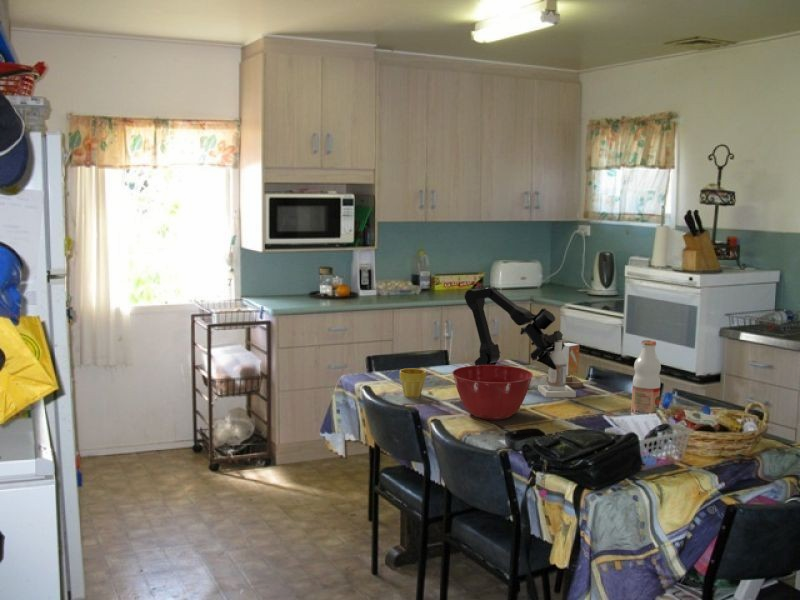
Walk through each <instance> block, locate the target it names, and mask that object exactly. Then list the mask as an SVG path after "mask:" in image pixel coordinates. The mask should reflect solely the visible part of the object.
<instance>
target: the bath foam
mask: <svg viewBox="0 0 800 600" xmlns="http://www.w3.org/2000/svg"><path fill="white" fill-rule="evenodd" d="M550 357H551V359H552V361H553V362H554V364H555V366H556V368H557V369H556V370H554V369H552V368H550V367H548V366H547V367H548V368H547V371H548V372H547V377H548V382H547V385H548V391H565V384H566V376H567V375H566V358H565V355H564V354H563V352H562V340H559V341H556V342H555V347H554V352H553V353H552V354H551V355H550Z"/></svg>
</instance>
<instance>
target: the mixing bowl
mask: <svg viewBox="0 0 800 600" xmlns="http://www.w3.org/2000/svg"><path fill="white" fill-rule="evenodd" d="M452 375H453V378H454V383H455V387H456V390H457V393H458V396H459V398H460V401H461V402H462V405H463V406H464V408H465V410H466V411H467V412H469V413H470V414H471V415H473V417H475V418H479V419H483V420H494V421H495V420H497V421H498V420H505V419H508V418H510V417H511V416H514V415H515V414H516V413H517V411H519V409H520V408H521V406H522V404H523V402H524V400H525V397H526V396H527V394H528V391H529V388H530V385H531V382H532V378H533V377H534V374H533V372H531V371H529V369H524V368H522V367H516V366H513V365H512V366H509V365H501V364H498V365H497V364H496V365H467V366H463V367H459V368H456V369H454V370H453V371H452Z"/></svg>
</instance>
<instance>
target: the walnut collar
mask: <svg viewBox="0 0 800 600" xmlns="http://www.w3.org/2000/svg"><path fill="white" fill-rule="evenodd" d="M546 382H547V383H548V376H546ZM565 385H567V386H569V387H570V388H571V389H574V388H576V389H577V388H580V389H581V388H584V383H583V382H582V381H581V380H579V379H578V378H576V377H575V376H570V375H566V384H565Z"/></svg>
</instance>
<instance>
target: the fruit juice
mask: <svg viewBox="0 0 800 600" xmlns="http://www.w3.org/2000/svg"><path fill="white" fill-rule="evenodd" d="M656 346H657V342H656V341H655V340H649V339H648V340H646V339H645V340H642V341H641V351H640V353H639V356H638V357H637V358H636V359H635V361H634V364H633V368H634V375H633V377H632V389H631V390H632V392H631V406H630V407H631V411H630V416H631V415H639V414H649V413H656V411H657V410H660V396H661V395H660V394H661V378H660V373H661V369H662V366H661V365H662V363H661V362H660V360H659V358H658V357H657V354H656Z"/></svg>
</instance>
